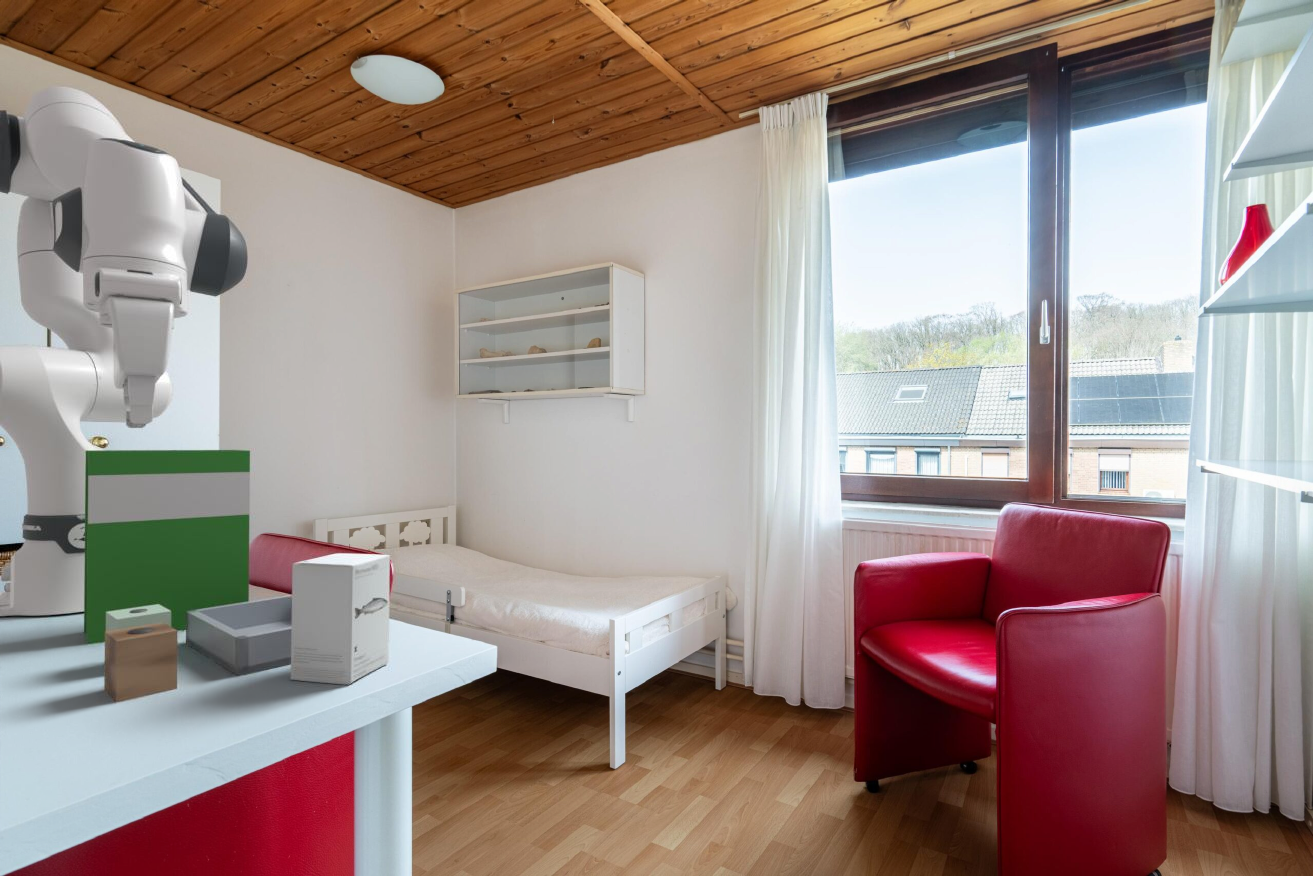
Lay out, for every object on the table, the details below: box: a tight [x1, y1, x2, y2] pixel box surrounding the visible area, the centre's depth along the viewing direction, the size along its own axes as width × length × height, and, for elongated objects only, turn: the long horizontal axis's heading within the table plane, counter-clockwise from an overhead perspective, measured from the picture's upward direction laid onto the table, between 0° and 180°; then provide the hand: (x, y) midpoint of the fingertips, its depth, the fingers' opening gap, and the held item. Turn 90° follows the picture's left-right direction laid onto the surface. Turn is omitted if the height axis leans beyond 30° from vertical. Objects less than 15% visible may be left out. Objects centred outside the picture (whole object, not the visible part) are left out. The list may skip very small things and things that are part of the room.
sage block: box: [106, 604, 171, 631], centre depth 79 cm, size 5×5×6 cm
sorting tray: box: [185, 594, 292, 677], centre depth 86 cm, size 18×14×4 cm
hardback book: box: [83, 449, 251, 645], centre depth 95 cm, size 18×7×24 cm, turn 132°
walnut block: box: [103, 622, 179, 703], centre depth 71 cm, size 5×5×6 cm
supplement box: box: [290, 552, 391, 686], centre depth 77 cm, size 7×7×13 cm
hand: (138, 425), depth 73 cm, fingers open, 8 cm apart
